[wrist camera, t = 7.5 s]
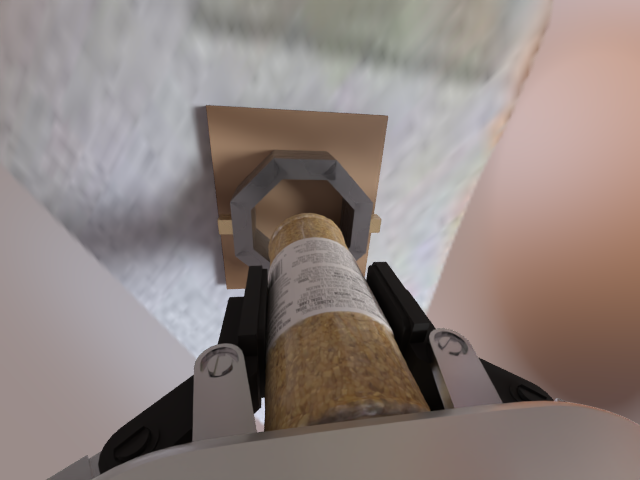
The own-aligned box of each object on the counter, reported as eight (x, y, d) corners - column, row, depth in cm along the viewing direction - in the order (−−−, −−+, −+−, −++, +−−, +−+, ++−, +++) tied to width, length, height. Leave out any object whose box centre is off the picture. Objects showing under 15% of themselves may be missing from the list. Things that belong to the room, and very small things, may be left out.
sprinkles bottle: (318, 288, 18) (405, 660, 6) (253, 259, 16) (192, 688, 4) (358, 231, 16) (580, 565, 4) (292, 194, 15) (363, 556, 3)
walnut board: (209, 105, 18) (206, 105, 17) (383, 115, 20) (388, 115, 19) (228, 282, 24) (226, 289, 23) (360, 277, 26) (363, 283, 25)
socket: (219, 147, 18) (208, 156, 15) (375, 153, 20) (394, 162, 17) (231, 263, 22) (223, 289, 19) (360, 260, 24) (373, 283, 21)
